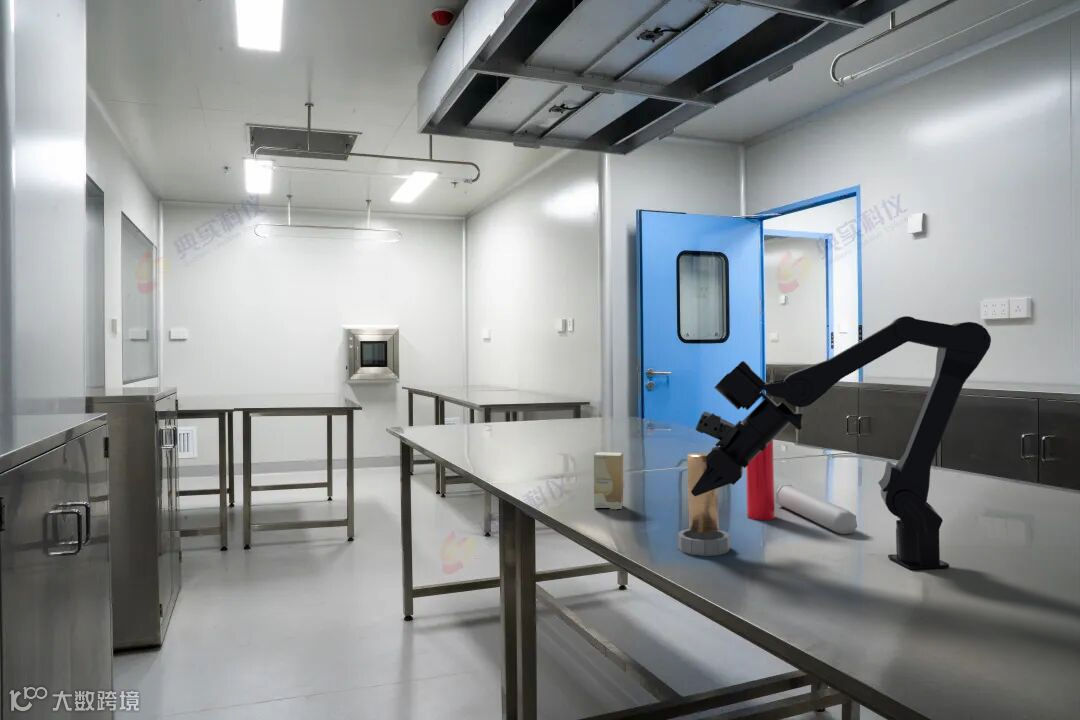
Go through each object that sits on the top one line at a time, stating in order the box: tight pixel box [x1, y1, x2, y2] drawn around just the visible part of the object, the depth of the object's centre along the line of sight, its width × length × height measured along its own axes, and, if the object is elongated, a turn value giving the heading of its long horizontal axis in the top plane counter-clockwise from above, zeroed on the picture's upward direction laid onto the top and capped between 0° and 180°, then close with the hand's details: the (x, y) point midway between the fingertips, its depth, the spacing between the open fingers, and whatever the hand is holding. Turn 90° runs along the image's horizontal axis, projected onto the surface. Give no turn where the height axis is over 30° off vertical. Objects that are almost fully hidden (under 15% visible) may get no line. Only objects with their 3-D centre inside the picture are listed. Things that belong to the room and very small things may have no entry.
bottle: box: [745, 439, 776, 521], centre depth 145 cm, size 5×5×20 cm
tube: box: [774, 484, 858, 535], centre depth 141 cm, size 5×5×25 cm
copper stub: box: [686, 452, 719, 532], centre depth 123 cm, size 5×5×13 cm
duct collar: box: [677, 528, 731, 557], centre depth 123 cm, size 9×9×2 cm
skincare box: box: [593, 451, 624, 510], centre depth 157 cm, size 6×4×12 cm
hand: (694, 491), depth 124 cm, fingers closed on copper stub, 5 cm apart
